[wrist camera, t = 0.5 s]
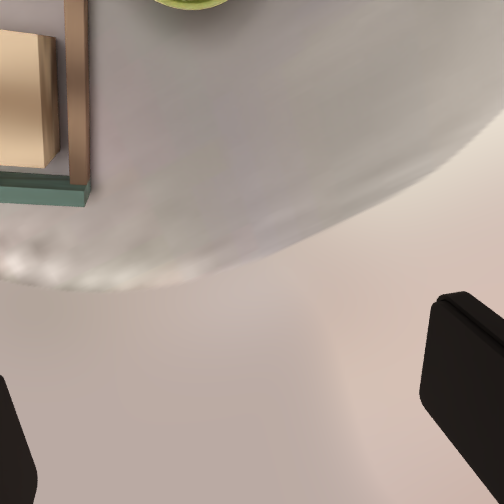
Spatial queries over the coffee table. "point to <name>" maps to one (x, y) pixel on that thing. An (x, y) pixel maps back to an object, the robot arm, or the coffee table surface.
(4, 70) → the bay
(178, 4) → the plant pot
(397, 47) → the coffee table surface
